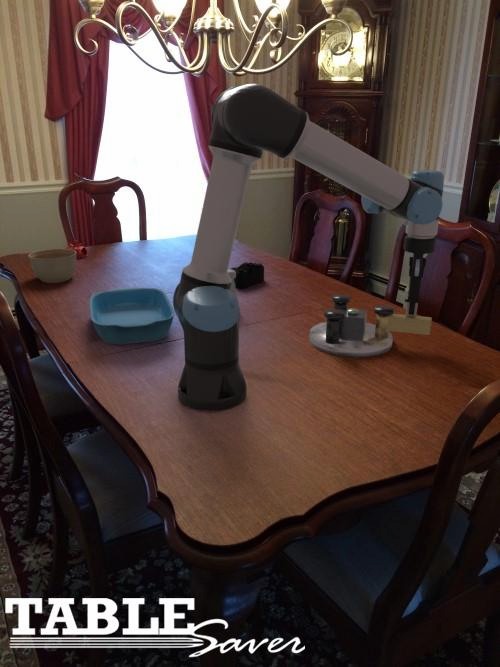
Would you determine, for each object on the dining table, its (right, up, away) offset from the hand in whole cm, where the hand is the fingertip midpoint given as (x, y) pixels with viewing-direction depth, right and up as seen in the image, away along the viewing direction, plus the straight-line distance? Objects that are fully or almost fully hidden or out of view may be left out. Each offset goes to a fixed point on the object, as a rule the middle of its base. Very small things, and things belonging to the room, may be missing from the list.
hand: (409, 324), depth 146 cm
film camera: (-44, +15, +54) cm, 71 cm away
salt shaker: (-48, +4, +27) cm, 56 cm away
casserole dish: (-76, -1, +13) cm, 77 cm away
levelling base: (-15, -4, +4) cm, 16 cm away
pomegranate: (-113, +27, +83) cm, 143 cm away
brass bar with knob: (-3, -4, 0) cm, 4 cm away
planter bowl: (-112, +16, +54) cm, 125 cm away
